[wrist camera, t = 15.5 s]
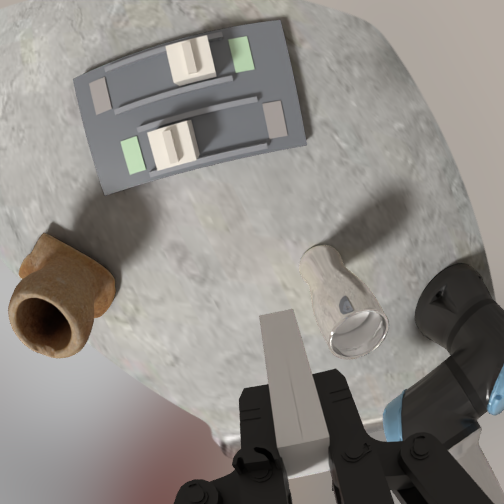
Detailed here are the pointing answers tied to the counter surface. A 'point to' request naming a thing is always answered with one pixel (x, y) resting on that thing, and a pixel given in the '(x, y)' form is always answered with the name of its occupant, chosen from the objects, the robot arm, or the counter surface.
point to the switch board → (192, 105)
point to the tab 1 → (191, 61)
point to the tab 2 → (174, 145)
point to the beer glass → (342, 304)
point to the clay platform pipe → (59, 298)
